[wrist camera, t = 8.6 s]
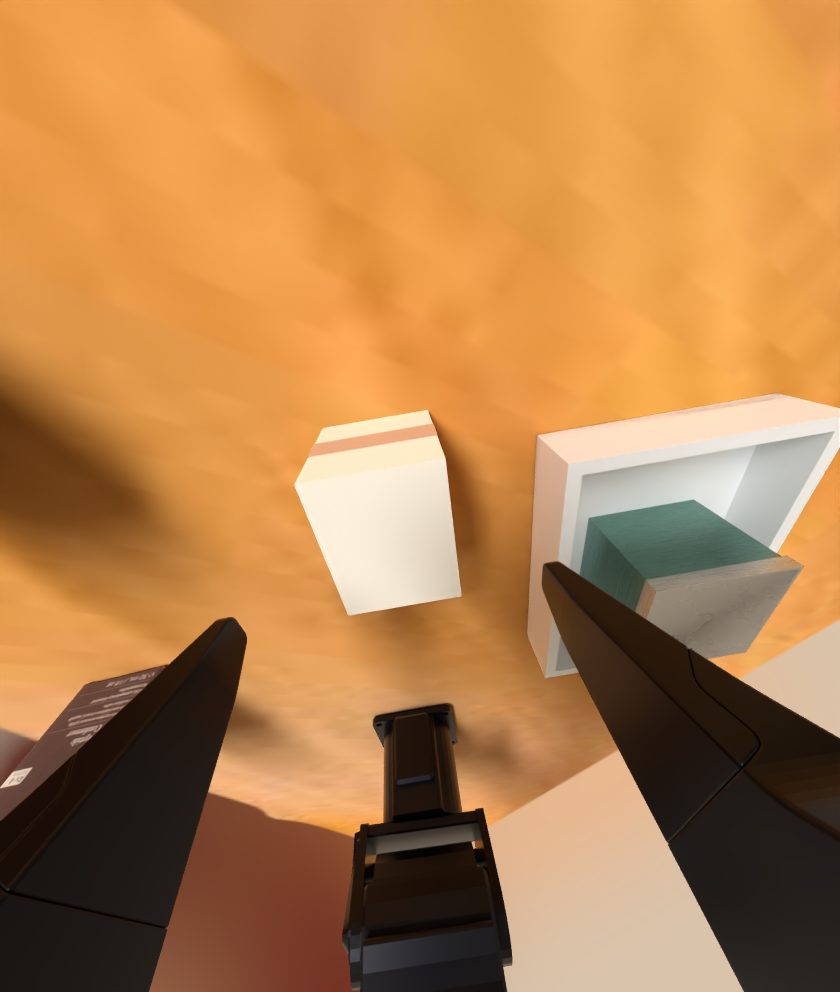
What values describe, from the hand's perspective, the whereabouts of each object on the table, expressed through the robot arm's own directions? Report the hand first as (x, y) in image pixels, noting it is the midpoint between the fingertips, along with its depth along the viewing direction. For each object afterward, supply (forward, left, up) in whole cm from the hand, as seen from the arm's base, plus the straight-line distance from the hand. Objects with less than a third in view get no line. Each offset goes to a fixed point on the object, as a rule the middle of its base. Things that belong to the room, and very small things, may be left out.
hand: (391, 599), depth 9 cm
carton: (0, 0, -7) cm, 7 cm away
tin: (-6, -13, -6) cm, 15 cm away
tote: (-6, -13, -7) cm, 16 cm away
